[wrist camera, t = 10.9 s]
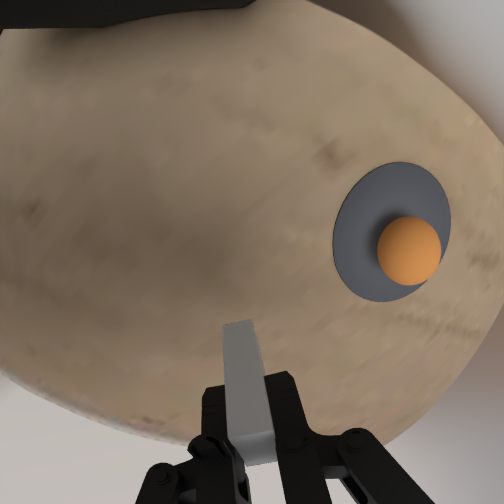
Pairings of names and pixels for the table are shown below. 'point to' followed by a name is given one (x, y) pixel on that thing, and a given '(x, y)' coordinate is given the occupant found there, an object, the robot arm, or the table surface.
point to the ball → (409, 250)
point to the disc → (378, 217)
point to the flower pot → (95, 11)
